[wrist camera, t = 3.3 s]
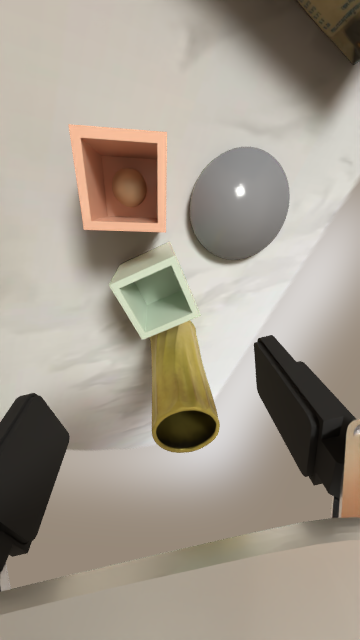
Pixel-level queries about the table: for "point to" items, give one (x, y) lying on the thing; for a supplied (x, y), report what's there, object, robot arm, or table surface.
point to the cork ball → (129, 187)
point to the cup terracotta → (100, 167)
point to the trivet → (239, 203)
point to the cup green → (154, 291)
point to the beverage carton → (338, 23)
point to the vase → (181, 392)
